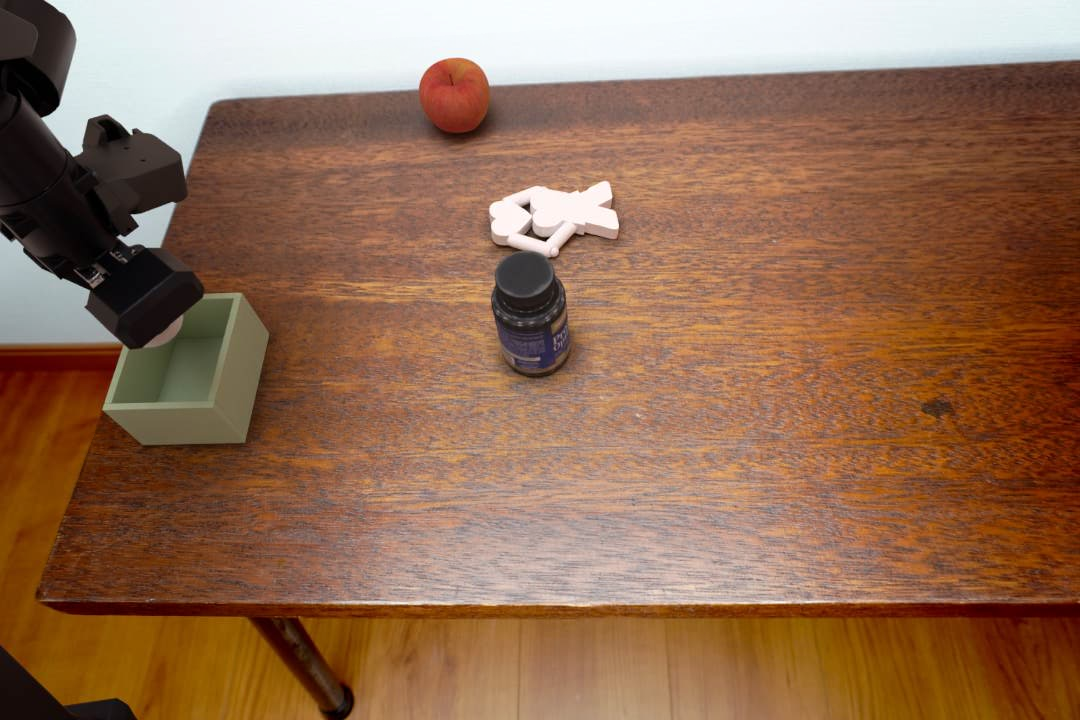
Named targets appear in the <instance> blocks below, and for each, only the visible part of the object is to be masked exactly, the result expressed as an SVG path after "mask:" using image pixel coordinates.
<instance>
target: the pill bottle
mask: <svg viewBox="0 0 1080 720" xmlns="http://www.w3.org/2000/svg"><path fill="white" fill-rule="evenodd" d="M494 281H495V284H494V286H493V289H492V291H491V297H490V305H491V310H492V315H493V318H494V322H495V328H496V332H497V336H498V340H499V344H500V348H501V352H502V356H503V358H504V361H505V362H506V363H507V365H508V366H509V367H510V368H511V369H512V370H513V371H515V372H516V373H519V374H522V375H523V376H528V377H542V376H546V375H549V374H551V373H554V372H555V371H557V370H559V368H560V367H562V366H563V365H564V364H565V363H566V361H567V360H568V357H569V355H570V352H571V335H570V334H571V333H570V324H569V315H568V306H567V305H568V304H567V295H566V289H565V286H564V284H563V283H562V281H561V279H560V278H559V277H558V276H557V275H556V273H555V268H554V265H553V263H552V261H551V260H550V259H549V258H547V257H546V256H544V255H543V254H541V253H538V252H535V251H526V250H525V251H524V250H518V251H515V252H512V253H510V254H508V255H507V256H505V257H504V258H503V259H501V261H500V262H499V263H498V265H497V267H496V268H495V271H494Z"/></svg>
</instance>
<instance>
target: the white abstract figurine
mask: <svg viewBox="0 0 1080 720" xmlns="http://www.w3.org/2000/svg"><path fill="white" fill-rule="evenodd" d="M612 201H613V192H612V188H611V184H610V182H609V181H607V180H604V181H601V182H598V183H597V184H594V185H592V186H590V187H588V188H587V189H586V190H584V191H582V192H580V191H579V189H577V190H575V191H573V192H570V193H569V192H566V191H562V190H556V189H550V188H548V187H547V186H540V185H534V186H532V187H529V188H526V189H523V190H520V191H519V192H516V193H513V194H510V195H507V196H505V197H503V198H502V199H501V200H499V201H498V200H497V201H494V202H493V203H491V204H490V205H489V211H488V212H489V214H488V215H489V222H490V230H491V231H490V233H491V235H490V236H491V240H492V241H493V242H494V244H497V245H499V246H510V247H511V248H515V249H518V250H520V251H525V250H526V251H535V252H538V253H541V254H543V255H544V256H546V257H547V258H548V259H549V258H551V257H552V258H555V257H557V256H558V255H559V252H560V249H561V248H562V246H563V245H564V244H565V243H566V242H567V241H568V240H569V239H570V238H571V237H572V236H573V235H574V234H577V235H581V236H582V235H583V236H585V233H587V234H589V235H595V236H599V237H602V238H606V239H609V240H616V239H618V235H619V230H620V229H619V228H620V226H619V219H618V216H617V212H616V210H614V209H611V208H612ZM527 205H529V206H530V207H529V211H527V210H526V209H525V208H523V207H524V206H527ZM531 228H532V231H533V233H534V234H535V235H536V236H537V237H541V238H548V239H547V240H546V241H543V240H540V239H537V238H535V237H534V238H533V237H530V236H527V235H526V234H527V233H528V232H529V230H530V229H531Z"/></svg>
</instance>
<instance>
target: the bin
mask: <svg viewBox="0 0 1080 720" xmlns="http://www.w3.org/2000/svg"><path fill="white" fill-rule="evenodd" d="M269 338H270V333H269V331H268V329H267V328H266V326H265V325H264V323H263V322H262V321H261V319H260V317H259V316H258V315H257V313H256V311H255V310H254V308H253V307H252V305H251V304H250V302H249V301H248V300H247V298H246V296H245V294H243V292H220V293H219V292H218V293H204V296H203V298H202V299H201V300H199V301H198V302H197V303H196V304H195V305H193V306H192V307H191V308H190V309H189V310H187V311H186V312H185V313H184V314H183V321H182V326H181V329H180V330H179V332H178V333H177V335H176V336H175V337H174V338H173V339H172V340H170V341H169V342H168V343H166V344H163V345H161V346H158V347H146V348H144V347H143V348H141V349H132V350H129V349H128V348H127V347H126V346H125V345H124V344H123V346H122V349H121V351H120V355H119V357H118V361H117V364H116V367H115V371H114V372H113V376H112V379H111V381H110V385H109V388H108V391H107V394H106V397H105V400H104V404H103V406H102V408H101V409H102V411H103V412H104V413H105V414H106V415H108V416H109V417H110V418H111V419H112V420H113V421H114V422H115V423H117V424H118V426H120V427H121V428H122V429H123V430H124V431H126V432H127V433H128V434H129V435H131V436H132V437H133V438H134V439H135V440H136V441H137V442H139V443H140V444H141V445H142V446H163V445H165V446H169V445H170V446H171V445H210V444H211V445H213V444H214V445H215V444H216V445H218V444H245V443H246V440H247V436H248V431H249V428H250V427H249V426H250V424H251V418H252V414H253V409H254V406H255V400H256V396H257V391H258V387H259V382H260V379H261V374H262V369H263V364H264V360H265V356H266V351H267V348H268V343H269Z"/></svg>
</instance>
